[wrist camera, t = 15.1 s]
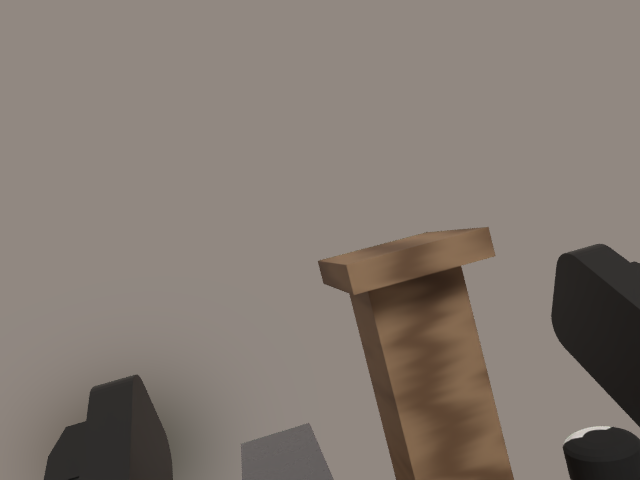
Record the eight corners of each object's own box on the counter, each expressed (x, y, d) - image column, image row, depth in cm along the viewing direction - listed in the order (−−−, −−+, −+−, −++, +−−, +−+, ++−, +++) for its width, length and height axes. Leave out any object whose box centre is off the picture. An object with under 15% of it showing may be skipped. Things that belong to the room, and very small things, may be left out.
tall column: (522, 575, 50) (437, 229, 49) (613, 677, 38) (502, 223, 37) (397, 622, 48) (306, 263, 47) (451, 744, 36) (331, 268, 36)
